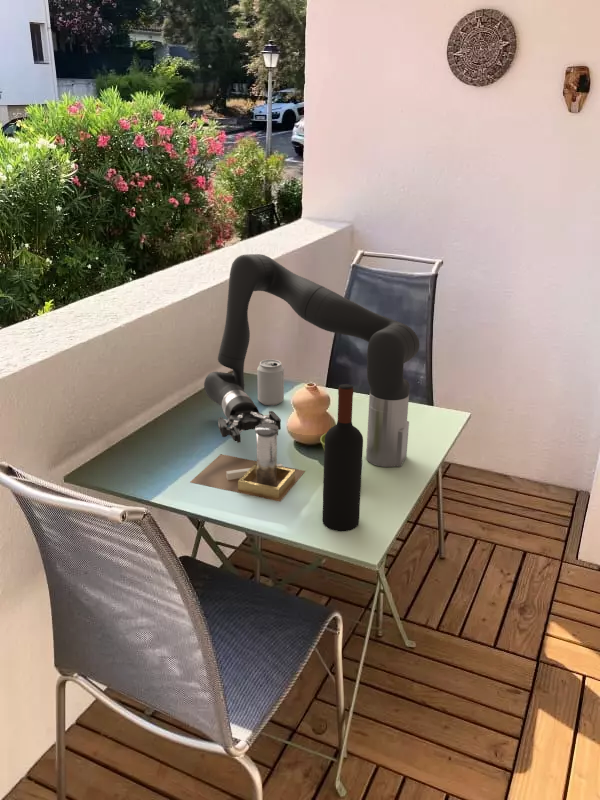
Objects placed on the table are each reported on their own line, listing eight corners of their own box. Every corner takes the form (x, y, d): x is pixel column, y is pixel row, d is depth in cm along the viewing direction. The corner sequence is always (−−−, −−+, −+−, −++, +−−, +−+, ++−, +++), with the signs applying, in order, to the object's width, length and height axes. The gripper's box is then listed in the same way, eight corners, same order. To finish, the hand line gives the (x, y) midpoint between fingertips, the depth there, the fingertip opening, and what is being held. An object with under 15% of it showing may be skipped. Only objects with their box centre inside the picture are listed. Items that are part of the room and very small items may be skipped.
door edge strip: (226, 477, 164) (226, 471, 164) (281, 469, 168) (281, 463, 168) (227, 480, 163) (227, 473, 163) (282, 471, 167) (282, 465, 166)
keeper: (295, 479, 164) (295, 469, 163) (278, 499, 156) (278, 489, 155) (256, 471, 167) (256, 462, 166) (238, 490, 159) (238, 481, 158)
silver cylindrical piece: (281, 481, 163) (281, 425, 158) (272, 491, 158) (272, 434, 153) (261, 477, 164) (260, 421, 159) (251, 487, 160) (251, 430, 155)
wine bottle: (317, 527, 148) (320, 390, 136) (329, 509, 154) (333, 377, 143) (352, 534, 145) (359, 396, 134) (363, 516, 152) (370, 382, 140)
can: (283, 406, 205) (283, 367, 200) (256, 406, 205) (256, 366, 200) (284, 396, 212) (284, 358, 207) (258, 396, 212) (258, 357, 207)
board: (305, 474, 168) (305, 470, 168) (280, 505, 155) (280, 501, 155) (220, 457, 175) (220, 454, 175) (190, 485, 163) (189, 482, 162)
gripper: (210, 398, 175) (226, 425, 161) (267, 392, 180) (287, 417, 165) (211, 426, 178) (227, 455, 164) (267, 419, 182) (287, 447, 168)
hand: (257, 436), depth 165 cm, fingers open, 8 cm apart
